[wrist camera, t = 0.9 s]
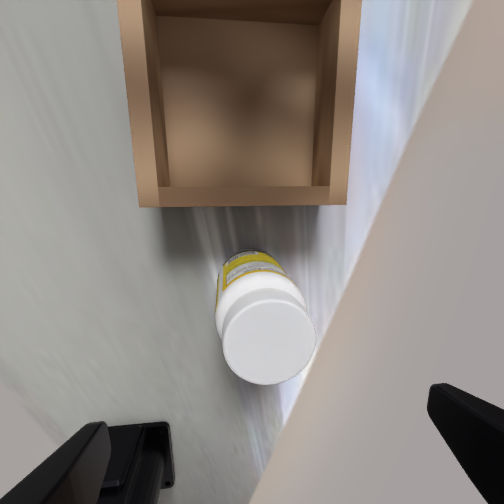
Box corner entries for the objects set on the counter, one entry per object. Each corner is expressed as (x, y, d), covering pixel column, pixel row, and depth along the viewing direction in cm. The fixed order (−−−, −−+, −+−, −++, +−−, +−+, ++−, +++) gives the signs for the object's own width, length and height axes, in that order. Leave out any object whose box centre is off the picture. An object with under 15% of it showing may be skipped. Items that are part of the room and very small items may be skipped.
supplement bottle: (261, 318, 19) (288, 409, 11) (206, 292, 18) (191, 371, 10) (293, 265, 19) (346, 320, 10) (237, 235, 18) (247, 271, 10)
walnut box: (319, 202, 18) (346, 204, 14) (159, 204, 17) (139, 207, 13) (329, 17, 15) (364, -43, 11) (141, 5, 14) (109, -66, 10)
